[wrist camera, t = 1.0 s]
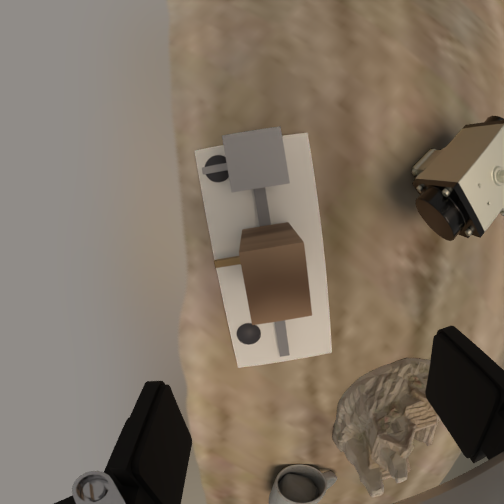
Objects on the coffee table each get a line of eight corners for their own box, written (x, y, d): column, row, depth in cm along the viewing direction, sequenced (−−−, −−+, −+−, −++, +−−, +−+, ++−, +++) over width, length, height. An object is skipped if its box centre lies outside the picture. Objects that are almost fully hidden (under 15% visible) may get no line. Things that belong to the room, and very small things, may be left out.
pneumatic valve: (379, 190, 28) (450, 203, 16) (446, 122, 26) (523, 109, 14) (409, 231, 29) (482, 263, 17) (471, 162, 27) (548, 166, 15)
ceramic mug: (265, 489, 39) (268, 525, 32) (273, 463, 37) (277, 504, 30) (327, 486, 40) (335, 520, 32) (341, 460, 38) (352, 497, 30)
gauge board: (196, 151, 27) (179, 144, 20) (305, 134, 27) (322, 121, 20) (238, 361, 32) (236, 404, 25) (329, 346, 32) (346, 386, 25)
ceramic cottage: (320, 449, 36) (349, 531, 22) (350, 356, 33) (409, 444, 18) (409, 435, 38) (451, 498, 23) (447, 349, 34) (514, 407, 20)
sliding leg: (210, 234, 27) (194, 259, 19) (288, 222, 26) (303, 242, 19) (221, 288, 28) (210, 330, 20) (295, 276, 28) (312, 315, 20)
